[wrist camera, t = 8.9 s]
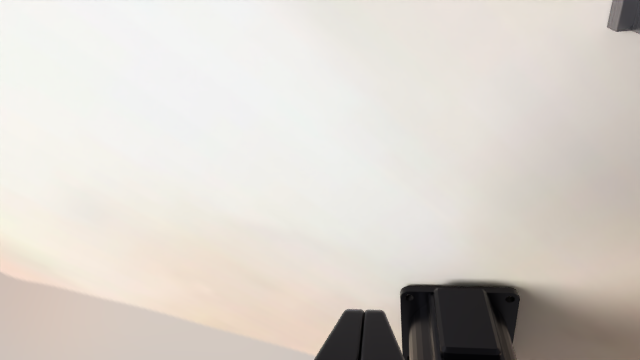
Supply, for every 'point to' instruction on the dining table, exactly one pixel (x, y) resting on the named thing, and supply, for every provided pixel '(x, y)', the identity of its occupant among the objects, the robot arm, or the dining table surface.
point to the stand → (625, 16)
